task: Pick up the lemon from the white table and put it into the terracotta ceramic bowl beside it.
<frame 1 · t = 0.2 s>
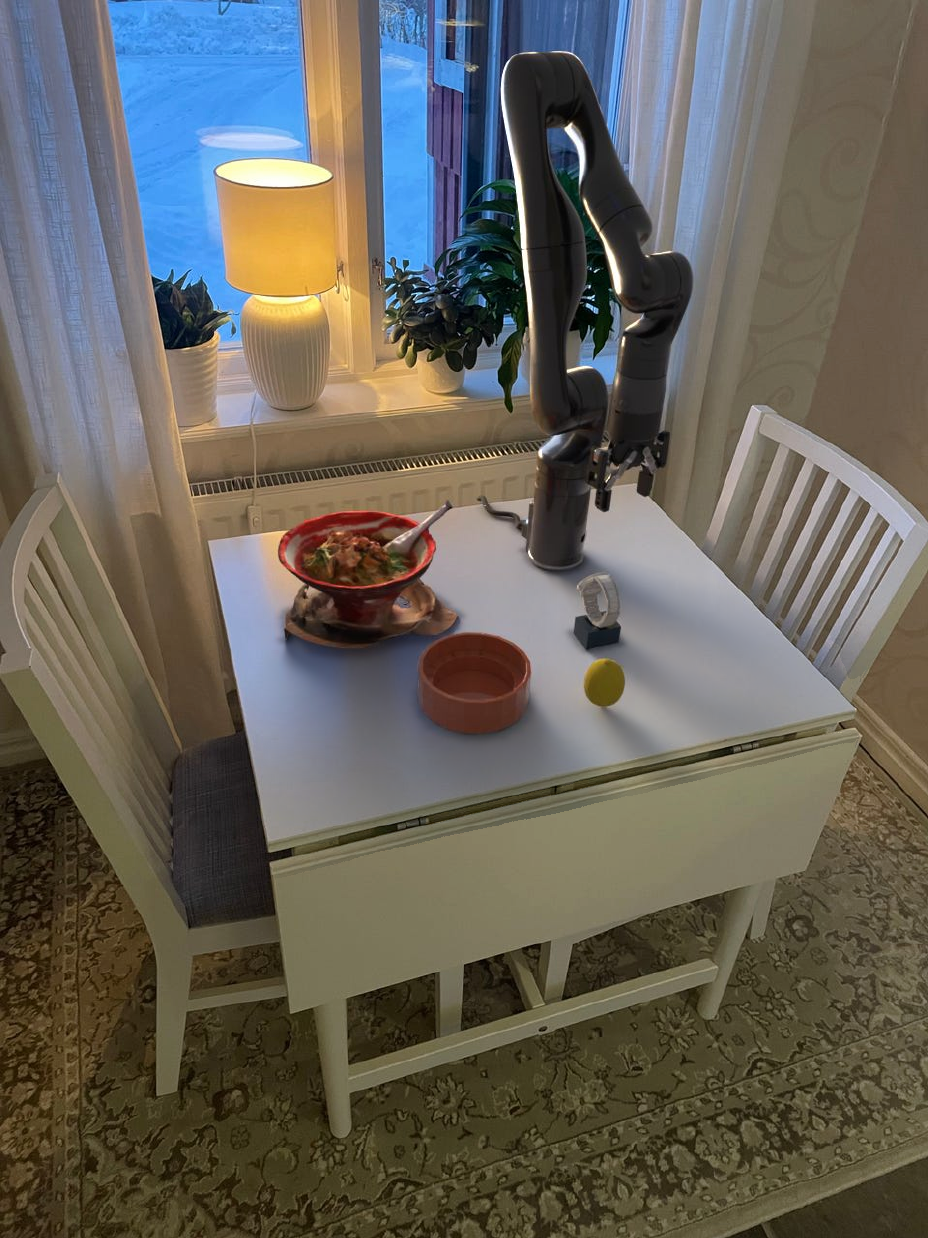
hand: (622, 502, 142), 17 cm above the table, tool pointing down, fingers open, 8 cm apart
lemon: (600, 706, 130), on the table
stew: (369, 612, 146), on the table
watch: (595, 638, 142), on the table
bowl: (473, 699, 130), on the table
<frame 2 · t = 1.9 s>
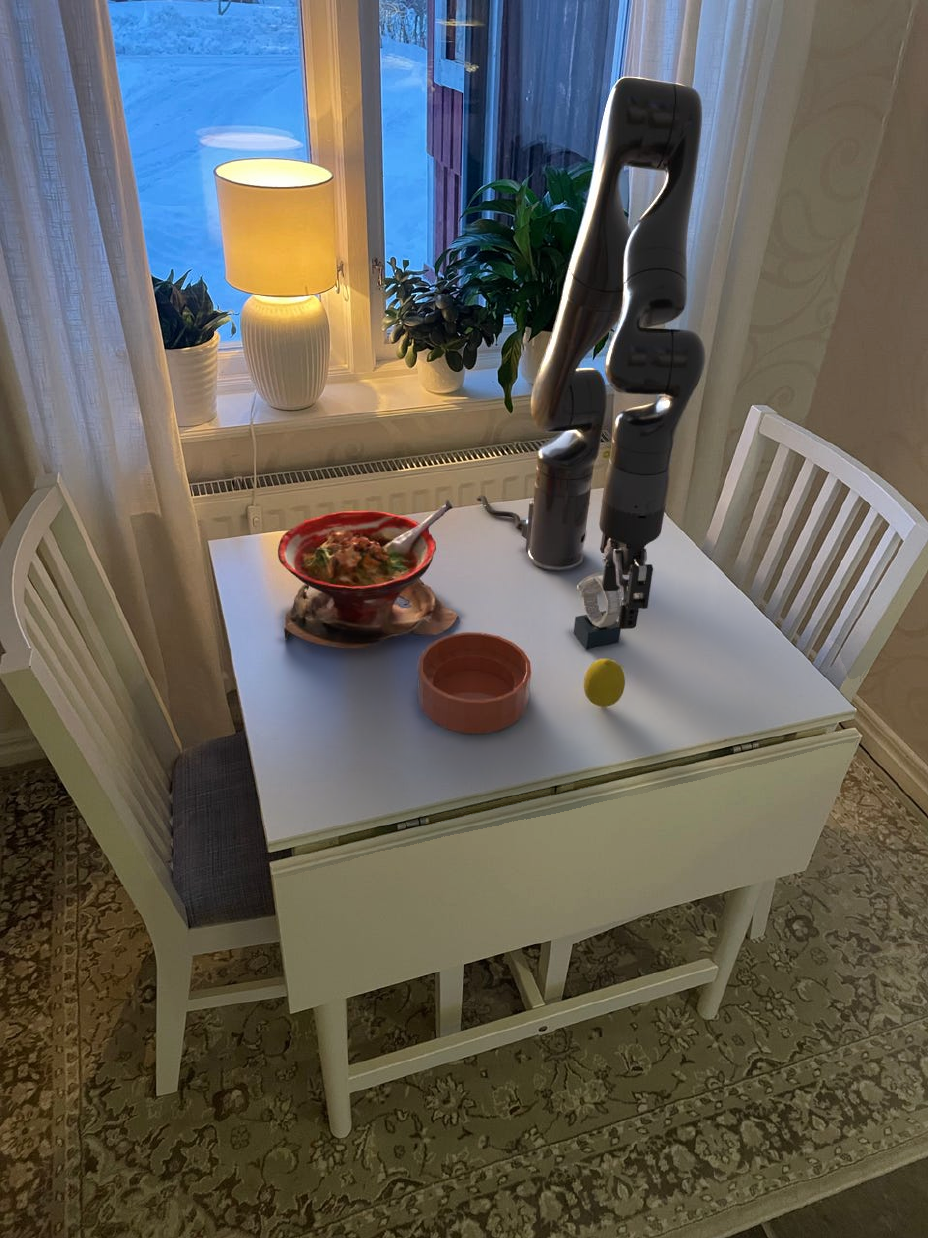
hand: (618, 608, 121), 16 cm above the table, tool pointing down, fingers open, 8 cm apart
nothing on the table moved.
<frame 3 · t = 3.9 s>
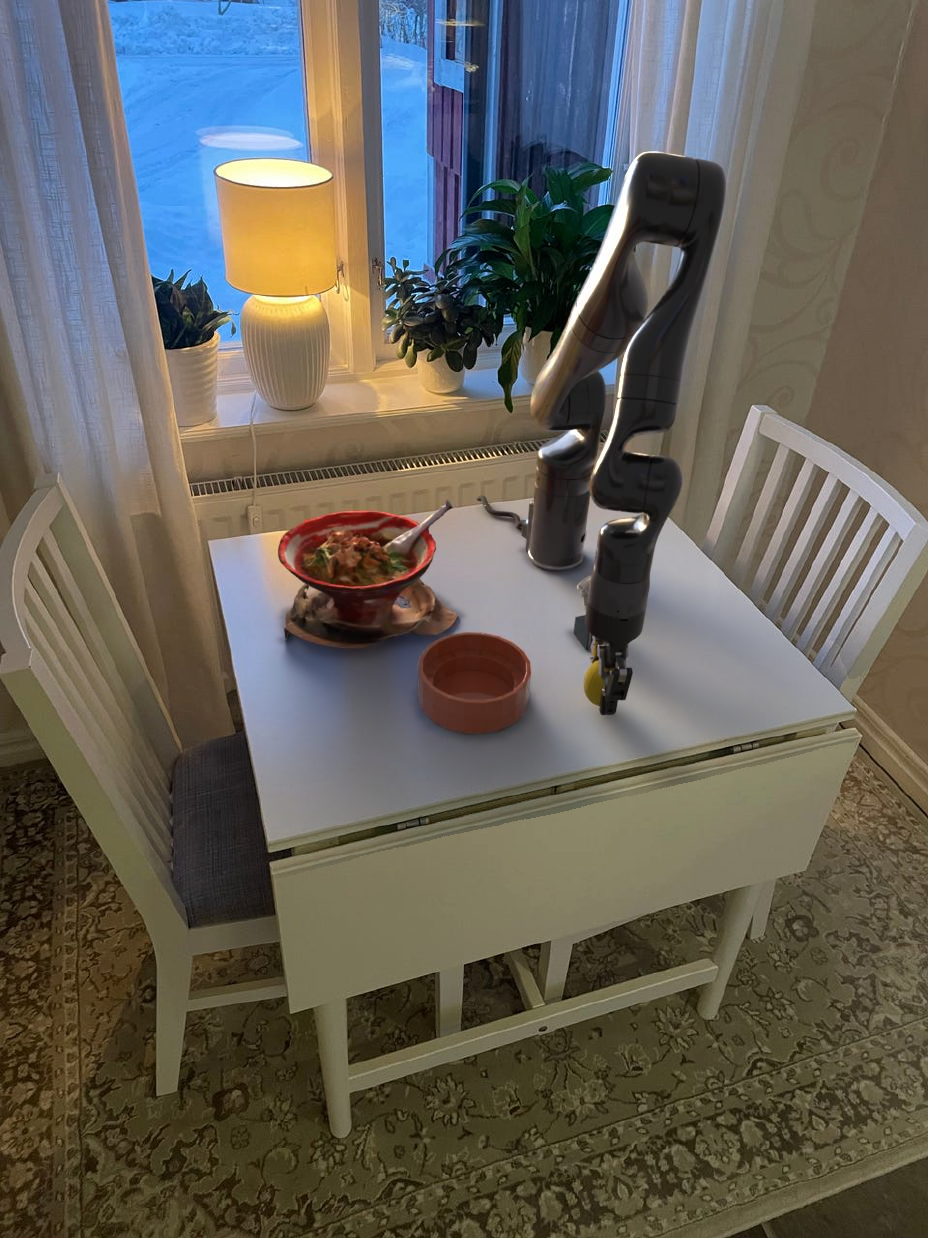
hand: (602, 698, 129), 1 cm above the table, tool pointing down, fingers closed on lemon, 5 cm apart
lemon: (600, 706, 130), on the table, touching gripper
everything else where it was.
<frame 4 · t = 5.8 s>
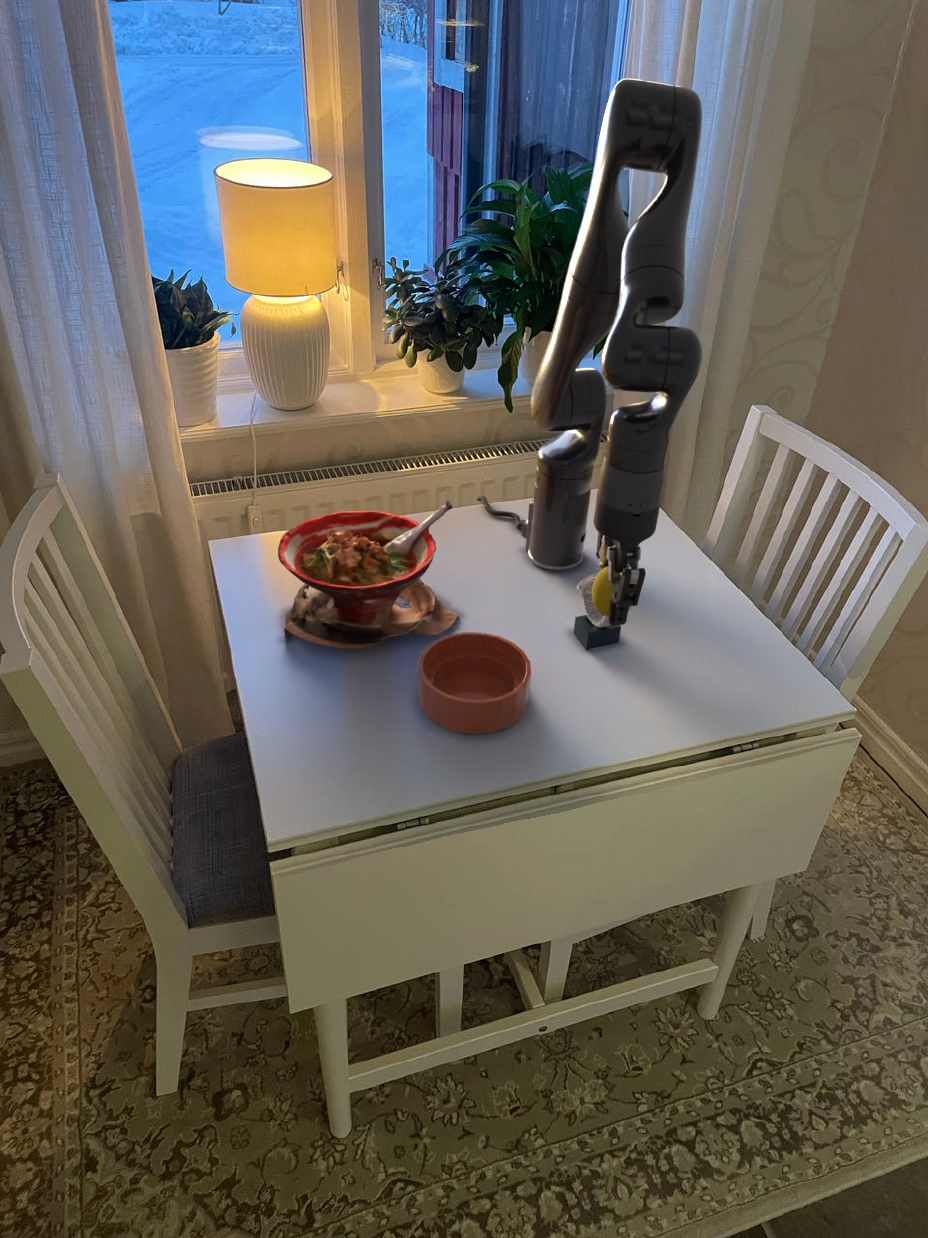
hand: (611, 608, 120), 16 cm above the table, tool pointing down, fingers closed on lemon, 5 cm apart
lemon: (609, 618, 121), point 15 cm above the table, touching gripper
everything else where it was.
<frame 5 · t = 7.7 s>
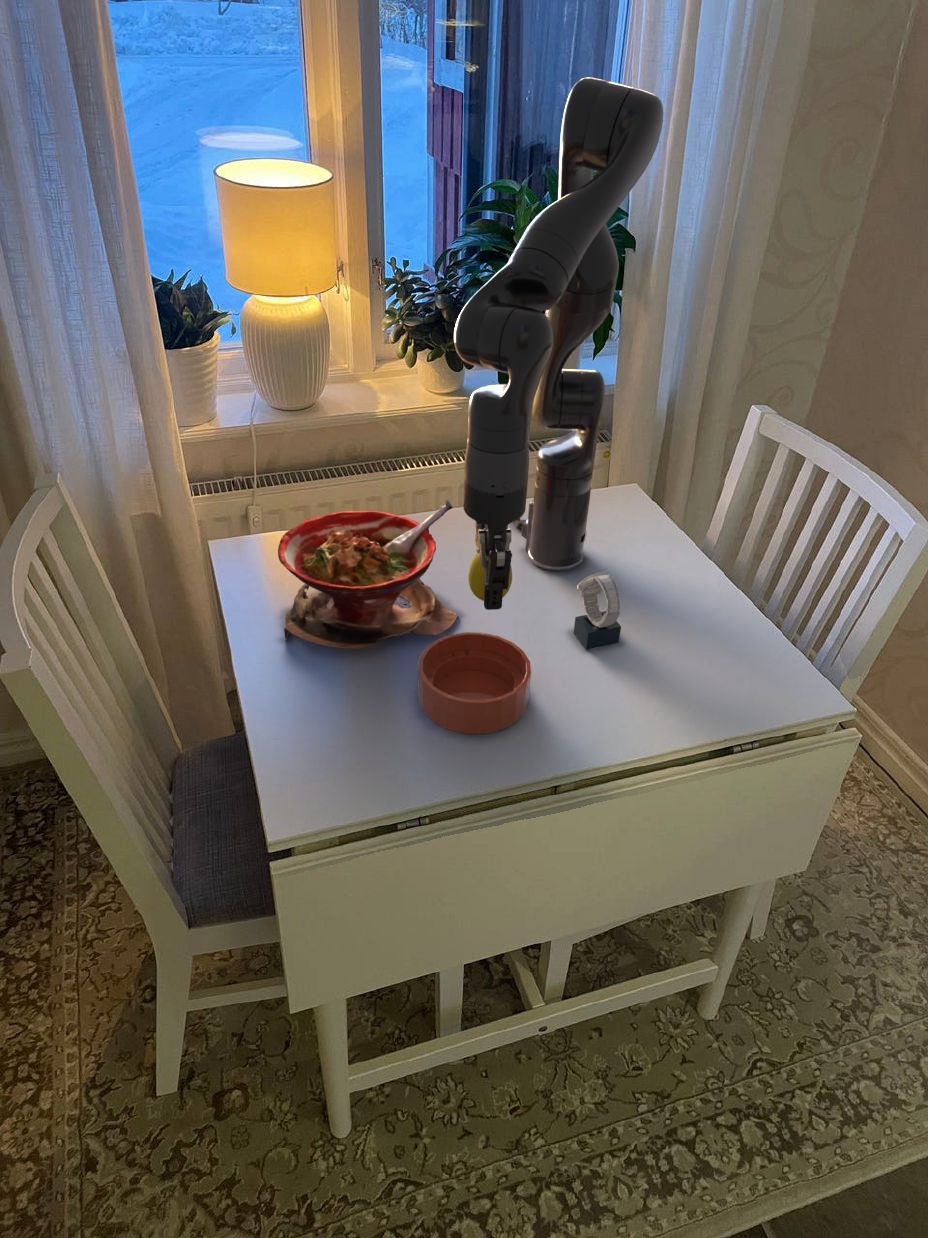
hand: (489, 593, 119), 18 cm above the table, tool pointing down, fingers closed on lemon, 5 cm apart
lemon: (488, 603, 120), point 16 cm above the table, touching gripper
everything else where it was.
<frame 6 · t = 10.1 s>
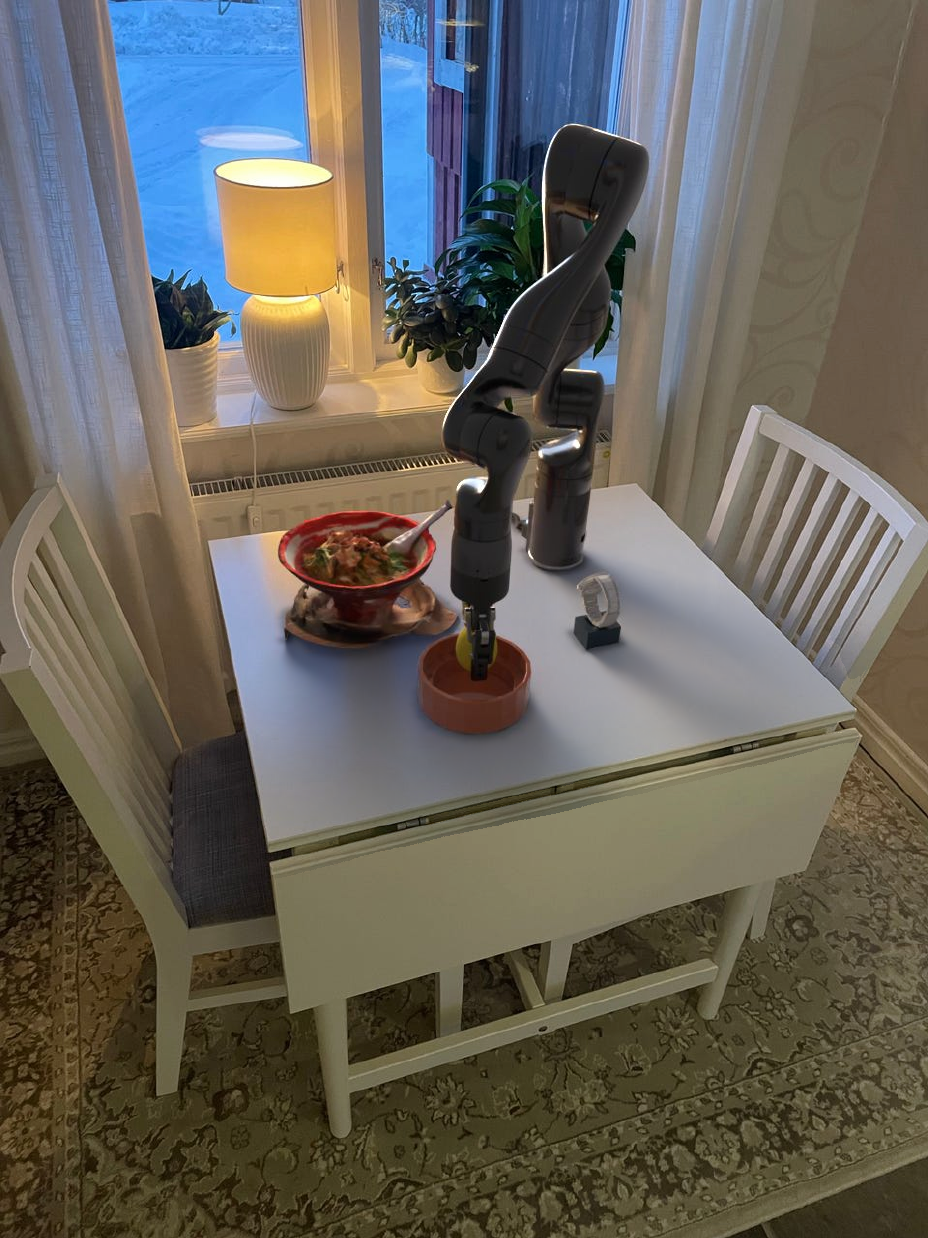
hand: (475, 664, 126), 6 cm above the table, tool pointing down, fingers closed on lemon, 5 cm apart
lemon: (475, 672, 127), point 5 cm above the table, touching gripper
everything else where it was.
when the fingers open (2 cm above the table, at t = 11.8 s): lemon stays where it is, resting on bowl.
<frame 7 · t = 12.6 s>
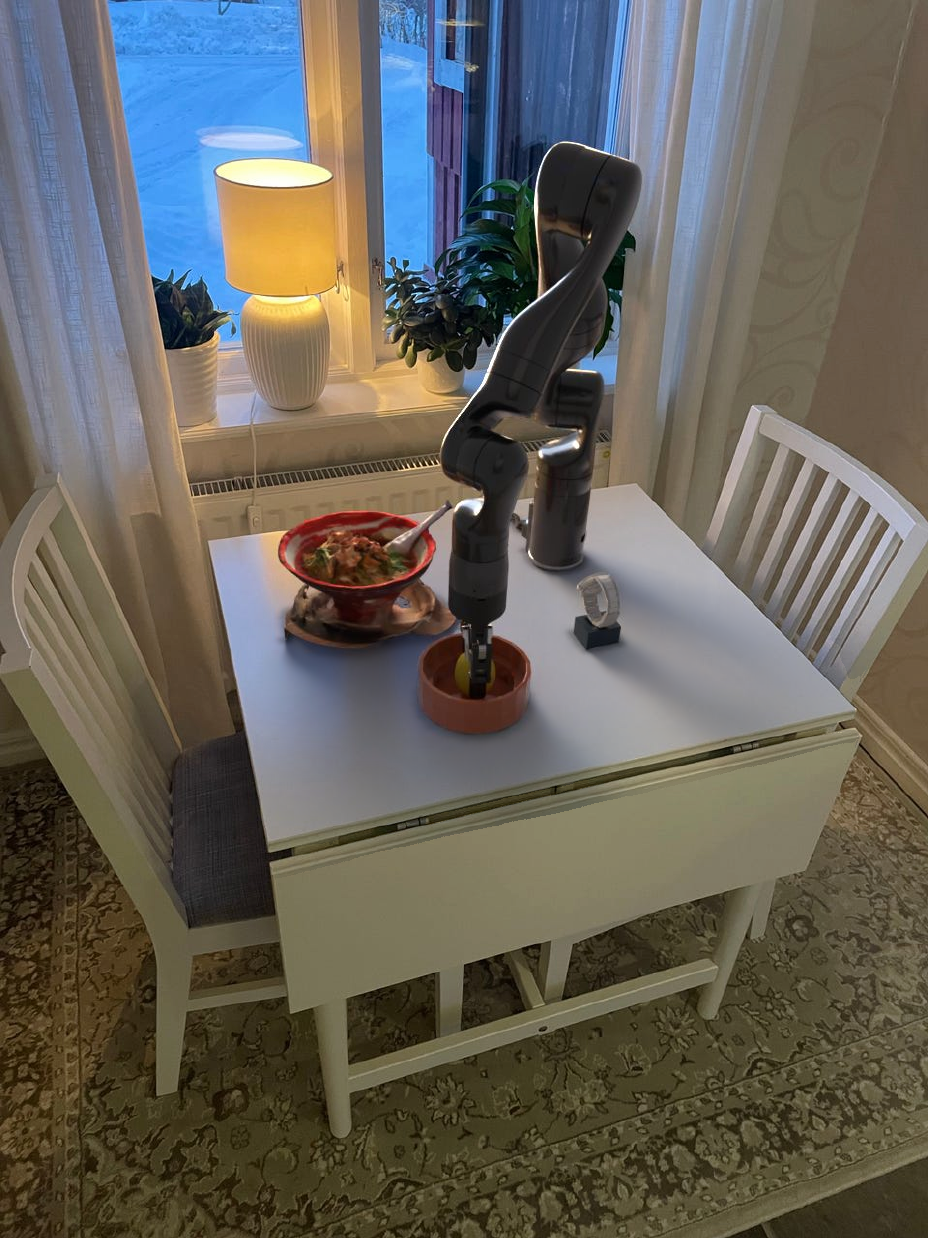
hand: (473, 676, 128), 4 cm above the table, tool pointing down, fingers open, 8 cm apart
lemon: (473, 696, 130), resting on bowl
everything else where it was.
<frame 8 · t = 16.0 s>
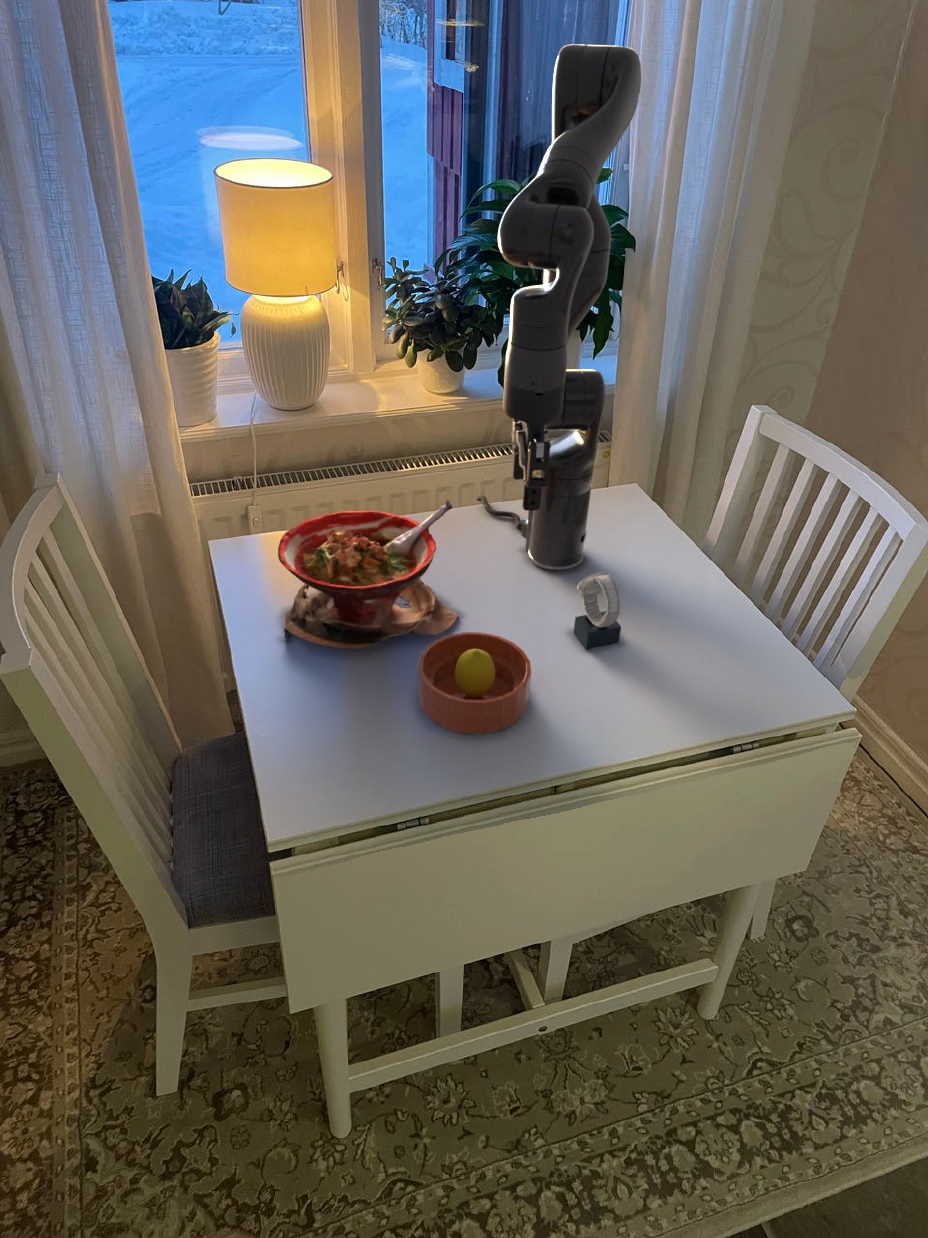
hand: (525, 493, 124), 26 cm above the table, tool pointing down, fingers open, 8 cm apart
nothing on the table moved.
at the end: lemon inside the target area in the bowl (0.1 cm from its centre), point 0.4 cm above the bowl's base; the gripper is holding nothing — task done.
